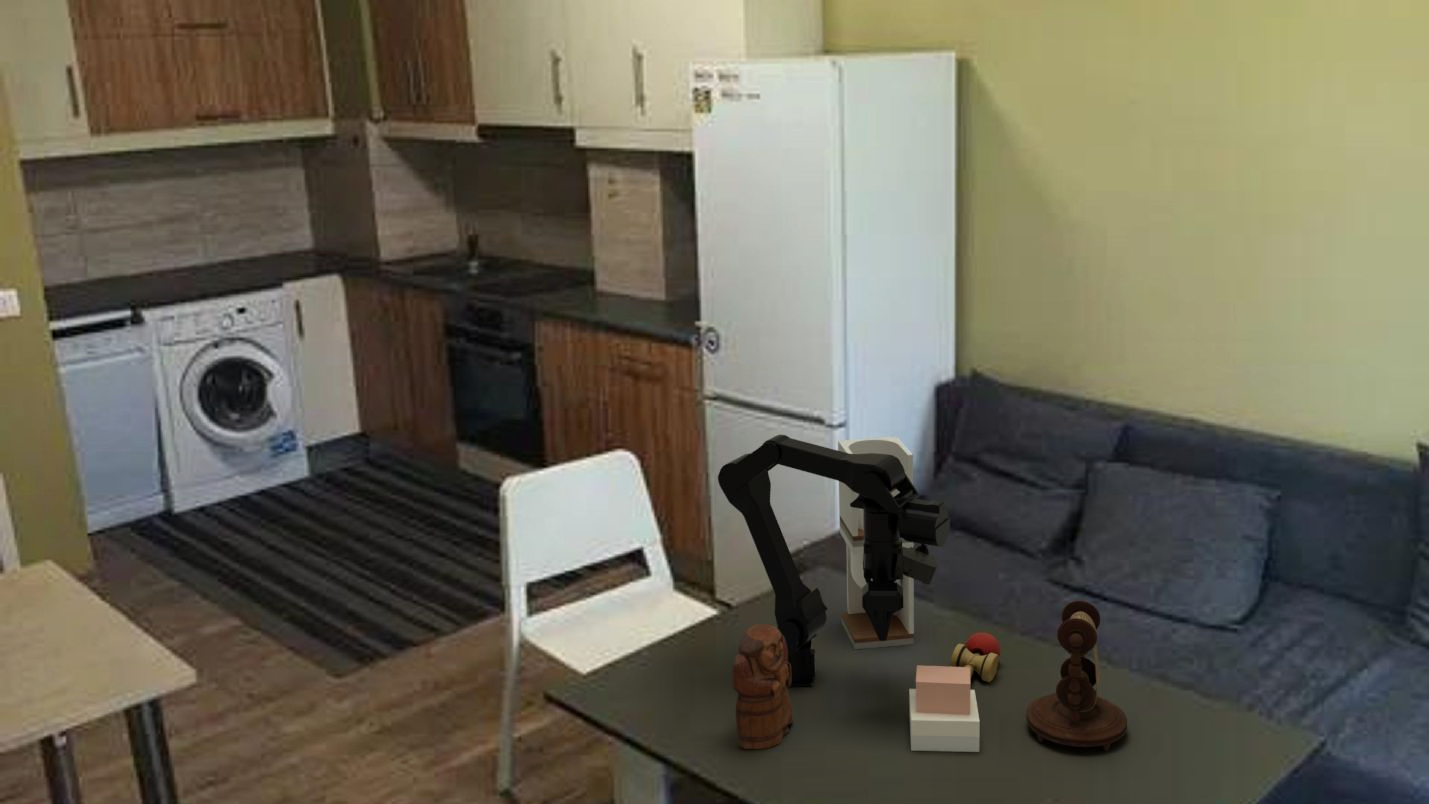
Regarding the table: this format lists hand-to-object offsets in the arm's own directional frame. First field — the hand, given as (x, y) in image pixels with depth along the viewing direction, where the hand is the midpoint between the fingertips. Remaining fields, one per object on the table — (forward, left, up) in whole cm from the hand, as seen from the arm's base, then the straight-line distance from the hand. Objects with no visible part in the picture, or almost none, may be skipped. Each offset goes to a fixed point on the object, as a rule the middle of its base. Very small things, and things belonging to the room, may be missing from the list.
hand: (882, 628), depth 205 cm
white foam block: (+9, -11, -12) cm, 19 cm away
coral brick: (+9, -11, -8) cm, 16 cm away
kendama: (+14, +7, -13) cm, 21 cm away
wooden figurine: (-18, -12, -13) cm, 25 cm away
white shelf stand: (-1, +25, -13) cm, 28 cm away
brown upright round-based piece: (+29, -9, -13) cm, 33 cm away
